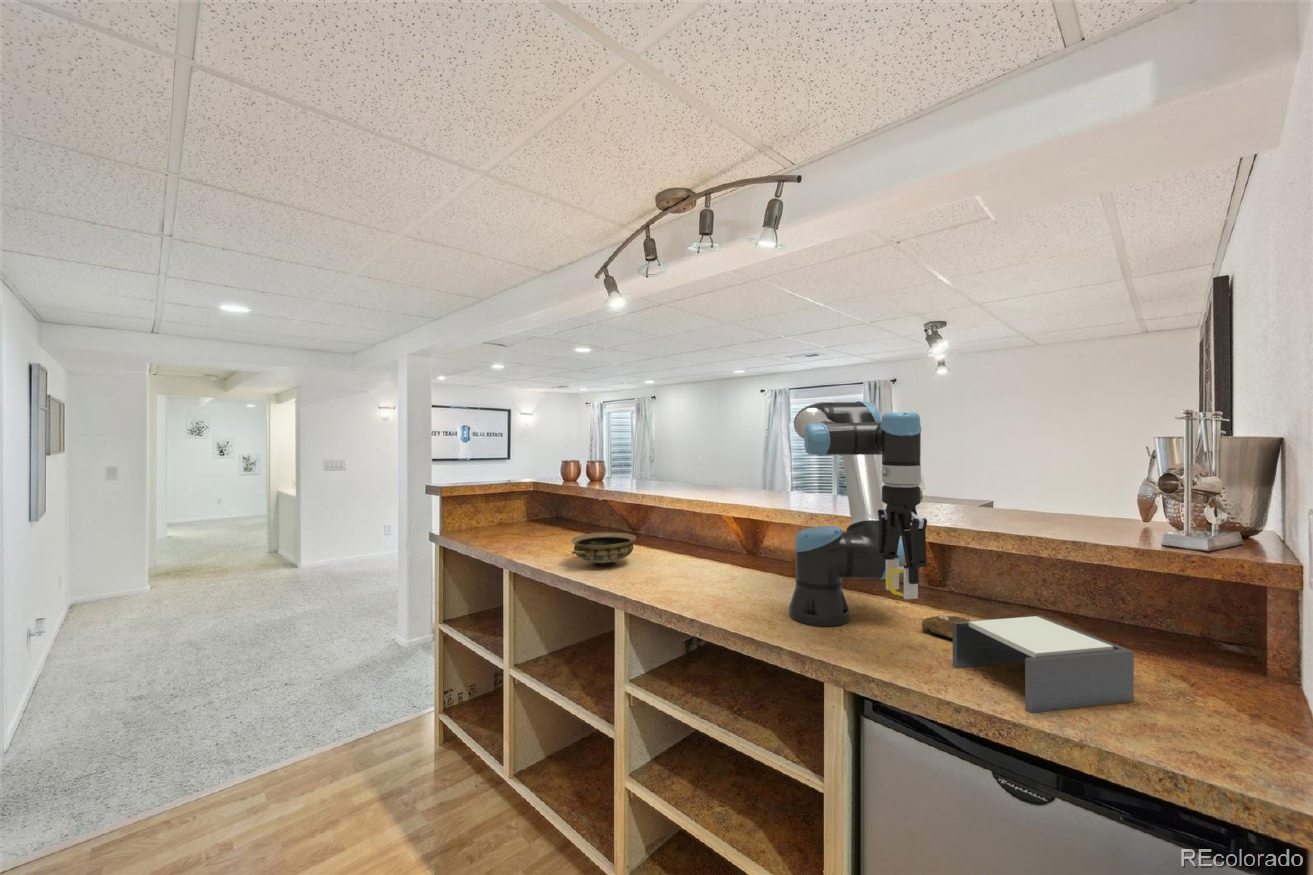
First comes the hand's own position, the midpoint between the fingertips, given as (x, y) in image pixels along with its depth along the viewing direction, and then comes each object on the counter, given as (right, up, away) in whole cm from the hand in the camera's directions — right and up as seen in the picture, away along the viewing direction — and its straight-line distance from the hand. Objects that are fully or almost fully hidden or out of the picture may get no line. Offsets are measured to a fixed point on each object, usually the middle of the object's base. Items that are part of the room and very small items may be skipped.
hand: (901, 593), depth 114 cm
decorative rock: (+20, -14, +13) cm, 28 cm away
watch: (0, -1, 0) cm, 1 cm away
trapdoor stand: (+21, -14, -11) cm, 28 cm away
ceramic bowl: (-72, -14, +84) cm, 112 cm away
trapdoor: (+21, -5, -11) cm, 24 cm away
